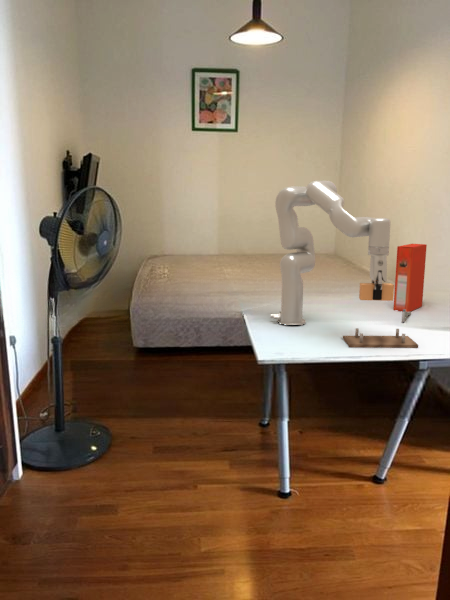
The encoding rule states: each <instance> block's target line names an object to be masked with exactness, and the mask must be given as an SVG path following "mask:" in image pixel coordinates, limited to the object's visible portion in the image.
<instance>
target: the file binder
mask: <svg viewBox="0 0 450 600" xmlns="http://www.w3.org/2000/svg"><path fill="white" fill-rule="evenodd" d="M427 246H428V245H427V244H423V243H410V244H404V245H398V246H397V247H396V263H395V266H396V267H395V277H394V293H393V311H395V310H398V311H397V312H401V311H402V312H403V309H406V312H413V311H415V310H417V309H419V308H421V307H423V301H424V299H423V298H424V285H425V275H426V274H425V272H426V270H425V269H426V257H427ZM402 312H401V313H402Z"/></svg>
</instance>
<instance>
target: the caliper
mask: <svg viewBox="0 0 450 600" xmlns="http://www.w3.org/2000/svg"><path fill="white" fill-rule="evenodd" d="M411 315H412V311H410V312H406V309H403V312H401V323H402V322H403V324H404V323H405V322H406V318H407V317H408V316H411Z"/></svg>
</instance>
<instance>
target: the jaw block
mask: <svg viewBox="0 0 450 600" xmlns="http://www.w3.org/2000/svg"><path fill="white" fill-rule="evenodd" d="M376 284H377V283H376ZM373 289H374V283H372V282H360V283H359V290H358V291H359V294H358V298H359V300H360V301H374V300H373ZM394 292H395V284H393V283H390V282H382V299H381V300H378V301H380V302H381V301H385V302H386V301H387V302H389V301H391V302H394Z"/></svg>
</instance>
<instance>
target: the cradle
mask: <svg viewBox="0 0 450 600" xmlns="http://www.w3.org/2000/svg"><path fill="white" fill-rule="evenodd" d="M354 330H355V335H342V340H343V341H344V342H345V344H346V345H347V347H348V348H355V349H357V348H358V349H359V348H360V349H361V348H365V349H366V348H372V349H373V348H374V349H375V348H377V349H378V348H379V349H380V348H381V349H382V348H384V349H385V348H386V349H387V348H388V349H395V348H396V349H419V344H418V343H417V342H415V340H414V339H412V338H411V337H410V336H408V335H406V333H401V335H400V328H395V335H364V333H359V332H360V330H359V328H355V329H354Z"/></svg>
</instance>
